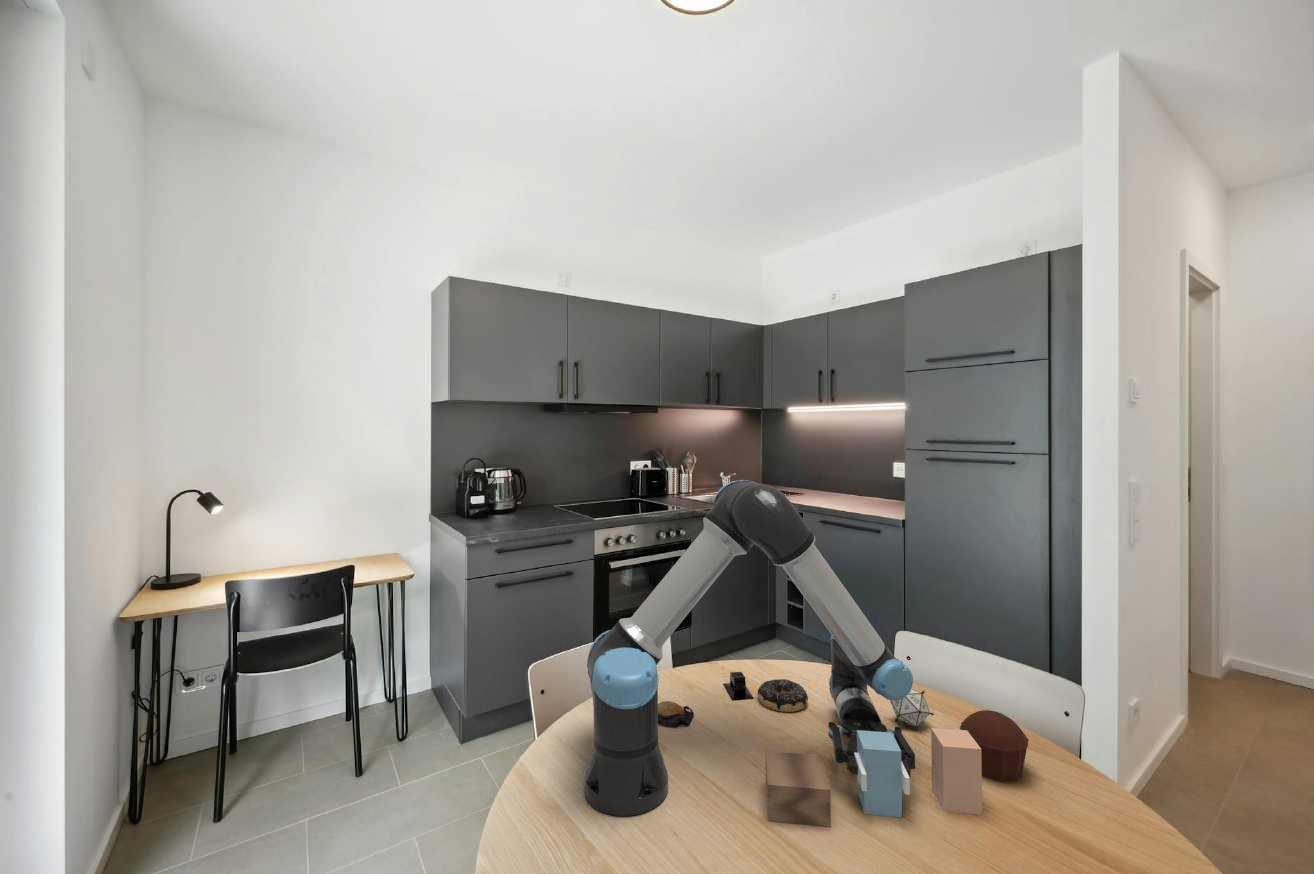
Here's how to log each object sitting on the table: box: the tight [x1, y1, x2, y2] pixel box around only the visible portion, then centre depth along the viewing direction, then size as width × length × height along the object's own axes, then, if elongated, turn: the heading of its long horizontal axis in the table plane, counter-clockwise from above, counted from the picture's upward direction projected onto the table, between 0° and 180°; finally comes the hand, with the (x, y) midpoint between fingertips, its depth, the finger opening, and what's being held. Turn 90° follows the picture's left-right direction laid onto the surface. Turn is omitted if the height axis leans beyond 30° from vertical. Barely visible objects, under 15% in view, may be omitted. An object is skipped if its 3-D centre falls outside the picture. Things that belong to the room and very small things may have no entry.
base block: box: [765, 750, 832, 828], centre depth 97 cm, size 10×10×6 cm
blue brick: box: [856, 730, 903, 818], centre depth 97 cm, size 6×6×11 cm
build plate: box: [722, 671, 755, 702], centre depth 140 cm, size 12×7×5 cm, turn 8°
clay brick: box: [930, 727, 983, 816], centre depth 97 cm, size 6×6×11 cm
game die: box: [886, 688, 935, 732], centre depth 123 cm, size 9×8×10 cm
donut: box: [757, 678, 809, 713], centre depth 134 cm, size 11×12×4 cm
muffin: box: [959, 709, 1029, 783], centre depth 107 cm, size 12×11×10 cm
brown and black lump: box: [658, 700, 695, 729], centre depth 127 cm, size 11×8×4 cm
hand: (885, 784), depth 92 cm, fingers closed on blue brick, 6 cm apart
